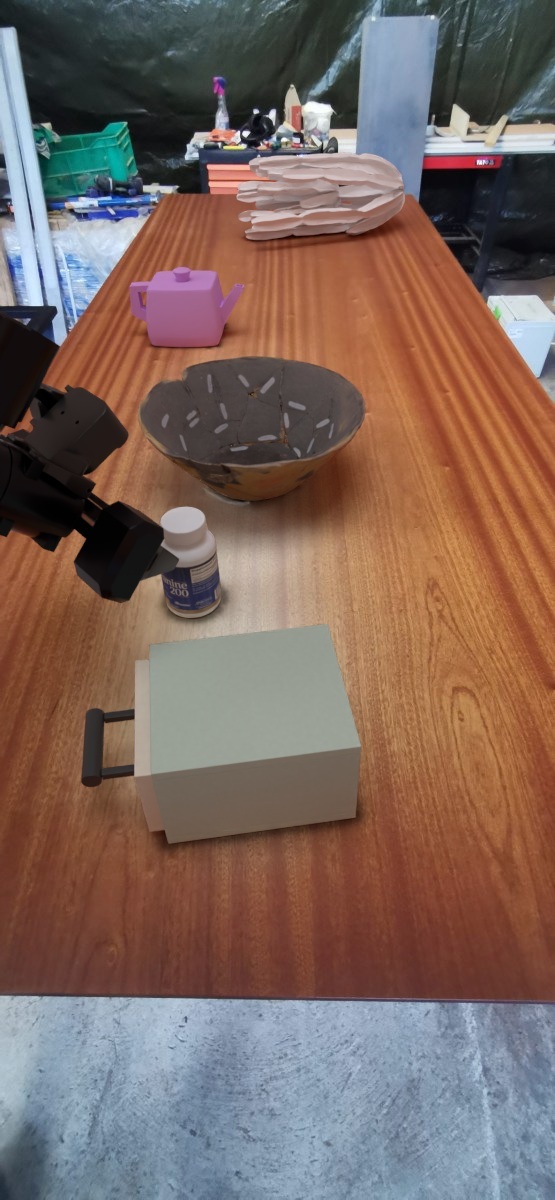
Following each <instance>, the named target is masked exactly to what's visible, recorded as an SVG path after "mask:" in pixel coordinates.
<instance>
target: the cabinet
mask: <svg viewBox="0 0 555 1200" xmlns="http://www.w3.org/2000/svg"><path fill="white" fill-rule="evenodd" d="M148 650H149V651H148V653H149V654H148V655H149V658H148V659H149V661H150V740H151V776H152V780H153V784H154V788H155V793H156V797H157V801H158V805H159V809H160V813H161V817H162V821H163V825H164V829H165V830H164V832H165V836H166V840H167V843H168V845H171V844H177V843H184V842H191V841H199V840H206V839H213V838H219V837H227V836H232V835H233V836H234V835H241V834H242V835H243V834H249V833H255V832H256V833H257V832H262V831H270V830H271V831H272V830H276V829H284V828H291V827H298V826H305V825H313V824H314V825H315V824H321V823H326V822H335V821H341V820H342V821H343V820H348V819H355V818H356V816H357V806H358V793H359V783H360V781H359V779H360V769H361V768H360V767H361V757H362V756H361V755H362V754H361V753H362V744H361V739H360V737H359V732H358V729H357V725H356V721H355V717H354V714H353V710H352V707H351V703H350V699H349V696H348V692H347V689H346V686H345V685H346V684H345V681H344V678H343V673H342V670H341V667H340V662H339V659H338V655H337V651H336V648H335V644H334V641H333V637H332V634H331V630H330V626H329V624H328V623H324V624H323V623H322V624H315V625H305V626H297V627H296V626H295V627H288V628H280V629H272V630H264V631H256V632H255V631H254V632H245V633H236V634H229V635H220V636H212V637H204V638H195V639H187V640H185V639H184V640H177V641H168V642H160V643H151V644H149V645H148Z"/></svg>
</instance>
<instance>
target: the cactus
mask: <svg viewBox="0 0 555 1200" xmlns="http://www.w3.org/2000/svg"><path fill="white" fill-rule="evenodd" d="M248 165H249V170H250V171H251V172H252V173H253V174H256V176H257V177H259V178H266V179H268V180H269V181H263V180H249V181H245V182H243V181H242V182H240V183H238V184H237V189H236V190H238V191H237V194H236V196H235V197H236V200H237V201H240V202H244V203H254V202H255V203H254V205H255V208H256V210H255V209H253V210H252V209H251V210H246V211H242V212H241V213H239V214H238V216H237V218H238V220H239V221H241V222H243V223H249V222H250V223H251V224H252V226H251V228H248V229H246V230H244V235H243V237H245V238H246V239H248V240H254V241H268V240H272V239H279V238H285V237H289V236H291V235H293V236H296V237H299V236H315V235H320V234H335V233H337V234H338V233H341V232H345V233H346V234H347V235H350V236H357V235H360V234H363V233H365V232H366V233H367V231H370V230H373V229H376V228H378V227H380V226H382V225H383V224H384V223H386V222H387V221H389V220H390V219H392V218H393V217H395V216H396V215H397V214H398V213H399V212H400V211H402V209H403V207H404V204H405V202H406V194H405V183H404V182H403V175H402V173H401V172H400V171H399V170H398V168H397V167H396V165H394V164H393V163H392V162H391V161H389V160H387V159H386V158H384V157H382V156H380V155H377V154H373V153H367V152H364V153H361V154H356V153H352V152H345V151H341V152H333V153H325V152H324V153H310V154H304V155H303V156H300V155H293V154H292V155H290V154H289V155H272V156H263V157H255V158H253V159H250V160H249V162H248ZM274 181H275V182H274ZM348 202H349V203H348Z"/></svg>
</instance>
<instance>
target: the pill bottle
mask: <svg viewBox="0 0 555 1200" xmlns="http://www.w3.org/2000/svg"><path fill="white" fill-rule="evenodd" d="M159 525H160V526H161V527H162V528H164V540H163V542H162V544H161V546H162V547H164V548H165V549H167V550H168V551H169V552H171V553H172V554H174V555H175V556H176V557H178V558H179V562H178V563H177V565H176V567H175V569H174V570H172V571H169V572H166V573H163V574H160V577H161V582H162V588H163V589H162V590H163V593H164V599H165V603H166V606H167V608H168V609H169V611H171V613H173V614H174V615H177V616H178V617H182V618H185V619H186V618H187V619H193V618H195V619H196V618H200V617H204V616H207V615H208V614H210V613H212V612H213V611H215V610H216V609H217V608H218V607H219V605H220V603H221V600H222V590H221V589H222V588H221V578H220V577H221V576H220V568H219V559H218V558H219V557H218V549H217V541H216V537H215V536H214V535H213V533H212V532H211V531H210V530H209V529H208V525H207V518H206V515H205V513H204V512H203V511H202V510H200V509H199V508H196V507H193V506H179V507H174V508H171V509H170V510H168V511H166V512H165V513H164V514H163V515H161V518H160V524H159Z"/></svg>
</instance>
